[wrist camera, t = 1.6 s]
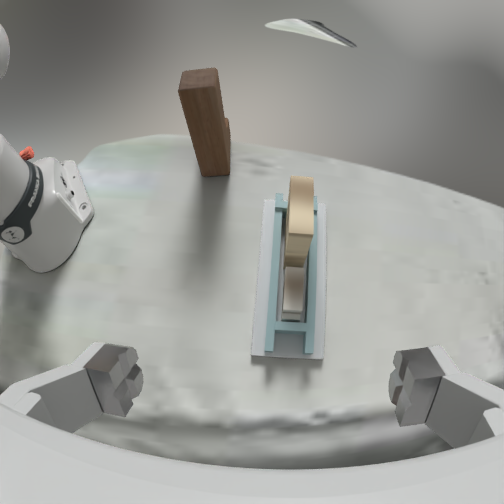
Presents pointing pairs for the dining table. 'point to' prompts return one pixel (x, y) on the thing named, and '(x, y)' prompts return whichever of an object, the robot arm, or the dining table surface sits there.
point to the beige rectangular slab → (299, 221)
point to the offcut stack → (292, 294)
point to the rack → (271, 289)
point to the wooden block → (206, 120)
